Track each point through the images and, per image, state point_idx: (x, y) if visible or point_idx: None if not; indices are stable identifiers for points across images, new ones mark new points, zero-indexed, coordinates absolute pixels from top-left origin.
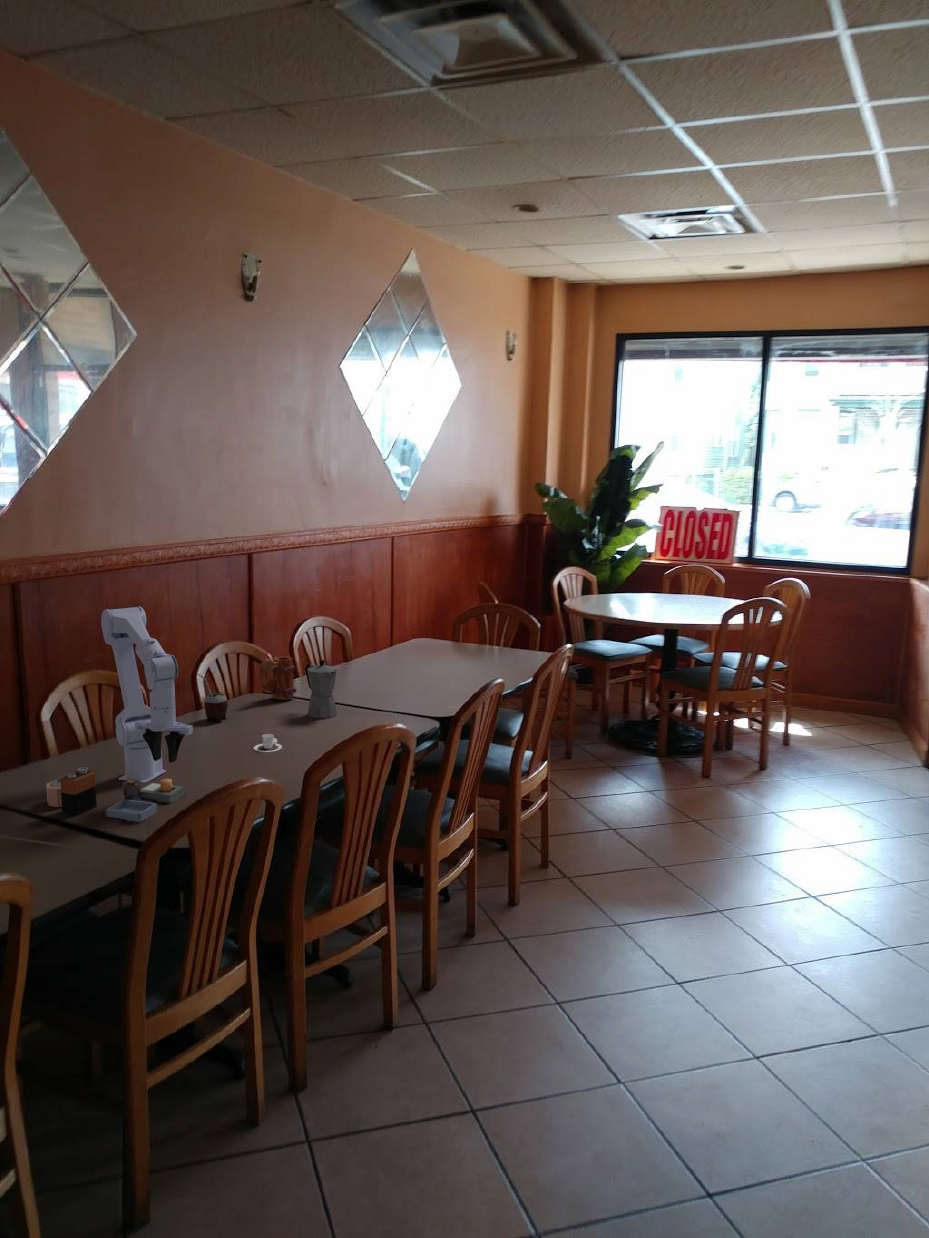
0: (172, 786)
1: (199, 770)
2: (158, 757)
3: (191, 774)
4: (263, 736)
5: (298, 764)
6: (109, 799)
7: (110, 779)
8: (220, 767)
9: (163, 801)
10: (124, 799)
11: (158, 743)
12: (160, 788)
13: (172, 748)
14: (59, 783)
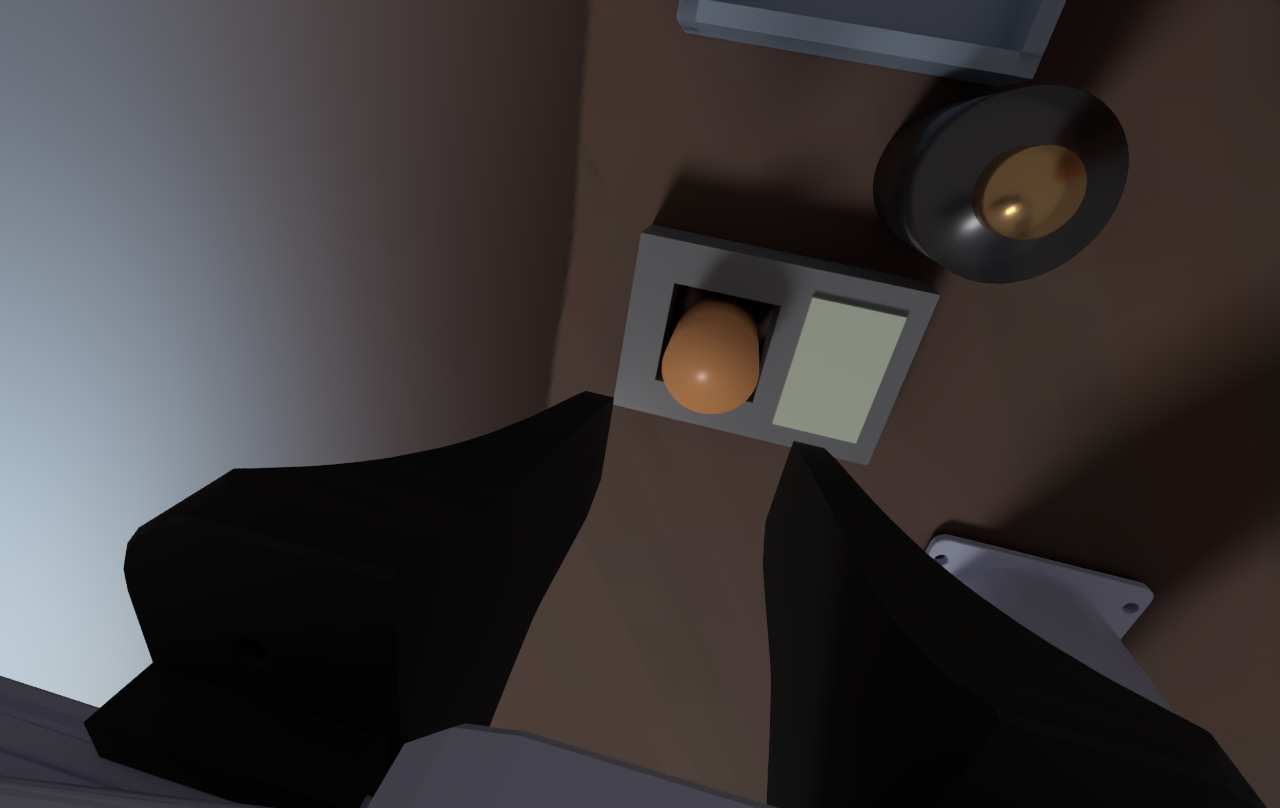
0: None
1: (680, 692)
2: (779, 497)
3: (701, 650)
4: None
5: None
6: (1168, 246)
7: (1210, 605)
8: (595, 715)
9: (707, 236)
10: (1021, 67)
11: (792, 666)
12: (750, 324)
13: (451, 445)
14: None
